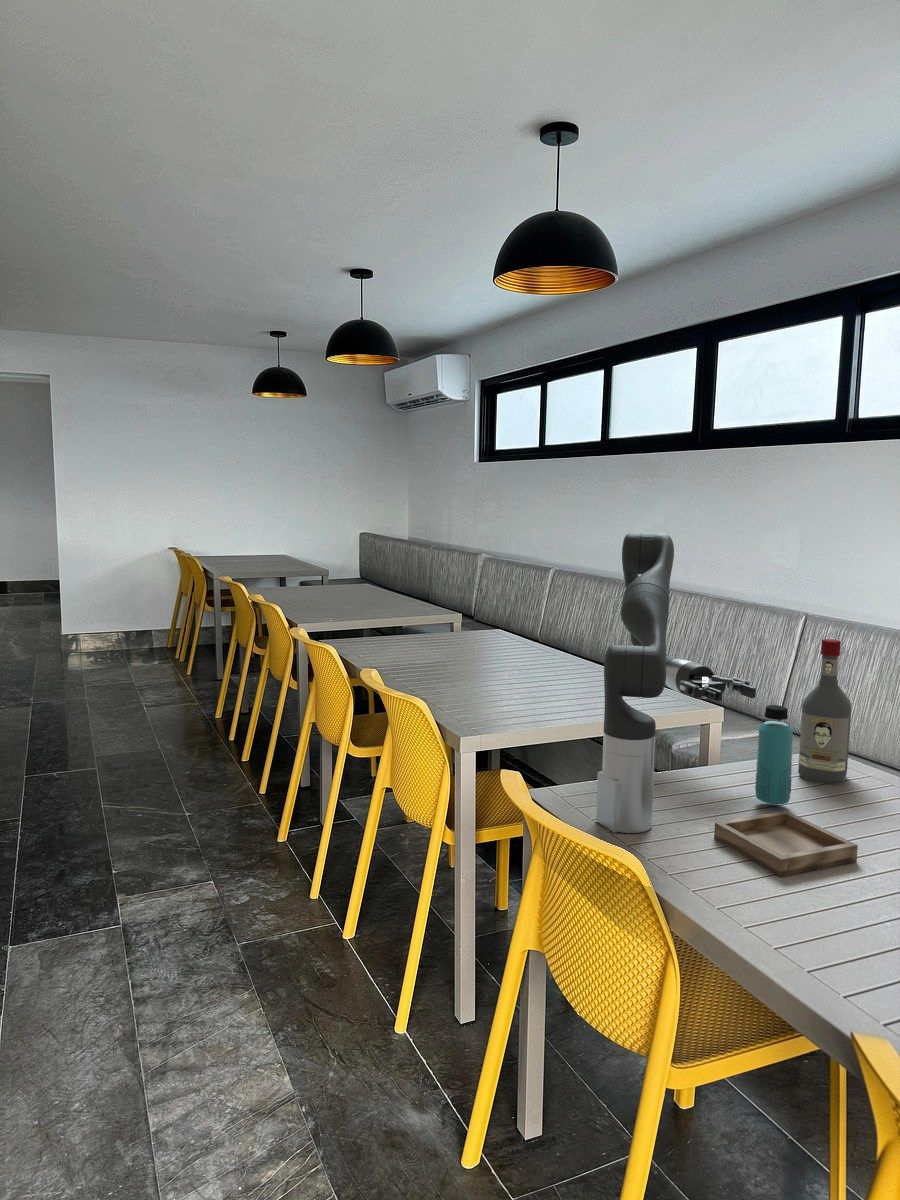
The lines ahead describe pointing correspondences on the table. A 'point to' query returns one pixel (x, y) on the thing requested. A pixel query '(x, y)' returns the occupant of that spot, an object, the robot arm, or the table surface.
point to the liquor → (825, 724)
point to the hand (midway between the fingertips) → (737, 695)
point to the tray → (785, 843)
